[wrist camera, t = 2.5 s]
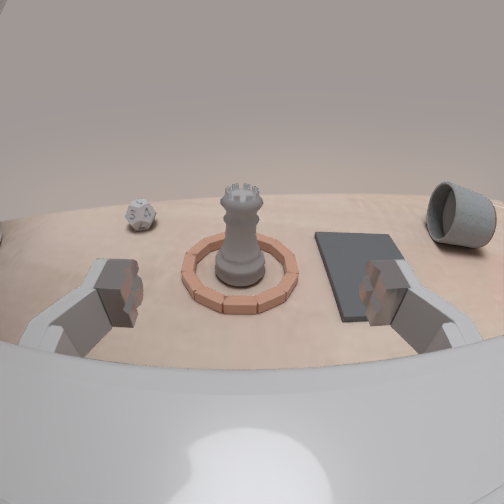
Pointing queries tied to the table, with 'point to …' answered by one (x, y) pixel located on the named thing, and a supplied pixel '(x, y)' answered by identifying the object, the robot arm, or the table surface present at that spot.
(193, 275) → the terracotta ring
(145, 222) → the game die
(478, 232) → the ceramic mug
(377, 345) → the table surface
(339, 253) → the charcoal mat
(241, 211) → the rook chess piece
